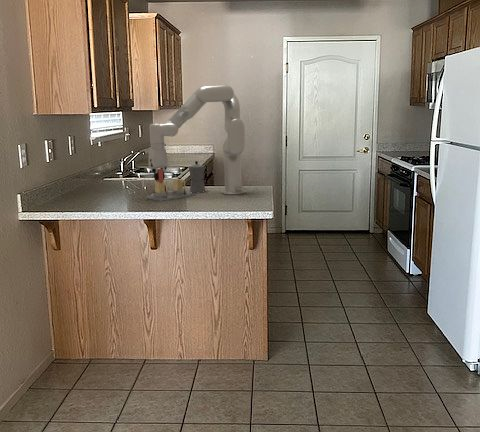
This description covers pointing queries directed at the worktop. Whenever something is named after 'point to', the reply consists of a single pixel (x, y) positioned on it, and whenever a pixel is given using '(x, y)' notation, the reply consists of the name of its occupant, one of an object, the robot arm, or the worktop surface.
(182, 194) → the gauge plate
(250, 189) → the worktop surface
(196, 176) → the coffeepot
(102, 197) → the worktop surface
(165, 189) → the grey stapler
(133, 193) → the worktop surface
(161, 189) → the block
